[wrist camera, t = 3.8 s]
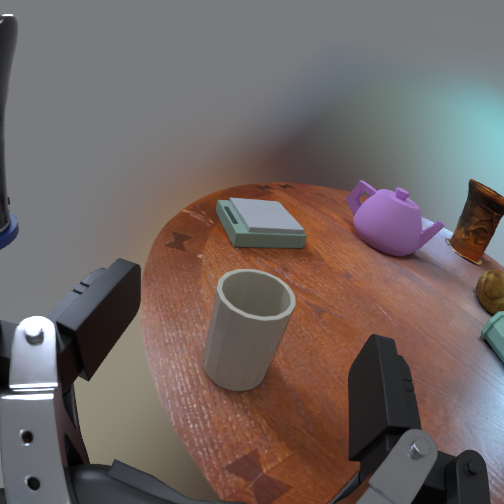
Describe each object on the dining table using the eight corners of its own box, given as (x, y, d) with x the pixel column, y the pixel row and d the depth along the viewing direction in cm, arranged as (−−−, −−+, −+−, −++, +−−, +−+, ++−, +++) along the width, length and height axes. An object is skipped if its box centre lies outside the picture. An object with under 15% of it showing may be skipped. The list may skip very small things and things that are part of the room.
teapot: (326, 226, 62) (345, 171, 56) (349, 212, 73) (365, 167, 67) (423, 277, 52) (450, 222, 46) (428, 252, 64) (449, 207, 58)
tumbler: (211, 395, 24) (229, 323, 20) (197, 344, 29) (209, 269, 24) (275, 385, 26) (308, 316, 22) (254, 339, 31) (277, 268, 27)
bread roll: (470, 280, 57) (486, 251, 53) (500, 299, 53) (517, 270, 49) (473, 307, 47) (494, 272, 43) (507, 327, 43) (528, 295, 39)
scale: (233, 247, 46) (237, 228, 45) (215, 211, 56) (218, 195, 54) (302, 248, 51) (308, 231, 49) (275, 215, 60) (279, 200, 59)
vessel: (449, 253, 68) (480, 183, 58) (439, 234, 80) (464, 173, 70) (488, 272, 65) (520, 207, 55) (475, 251, 77) (501, 194, 67)
